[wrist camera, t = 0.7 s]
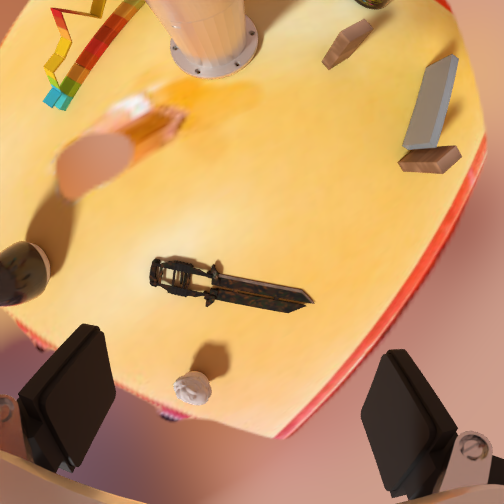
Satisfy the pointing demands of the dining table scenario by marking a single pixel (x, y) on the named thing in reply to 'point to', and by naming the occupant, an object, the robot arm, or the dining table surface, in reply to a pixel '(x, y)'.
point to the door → (431, 104)
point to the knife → (233, 284)
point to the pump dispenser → (22, 273)
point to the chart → (90, 54)
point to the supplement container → (373, 3)
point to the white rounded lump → (193, 388)
